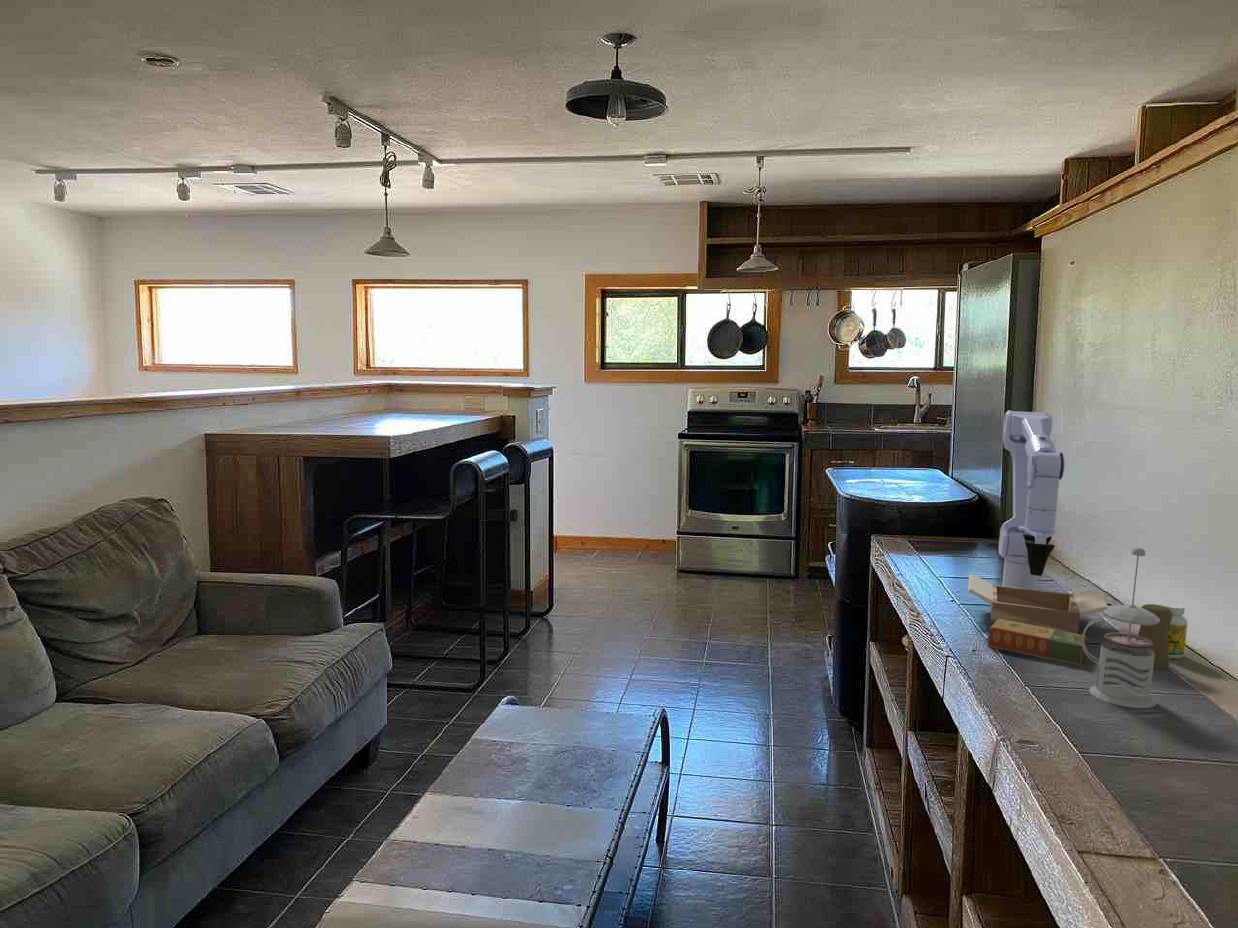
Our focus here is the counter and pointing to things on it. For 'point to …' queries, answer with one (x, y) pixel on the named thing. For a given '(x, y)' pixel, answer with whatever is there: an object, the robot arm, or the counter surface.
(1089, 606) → the flap
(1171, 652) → the supplement bottle
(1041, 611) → the kraft box
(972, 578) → the flap
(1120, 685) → the french press
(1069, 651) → the carton
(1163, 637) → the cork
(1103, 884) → the counter surface
